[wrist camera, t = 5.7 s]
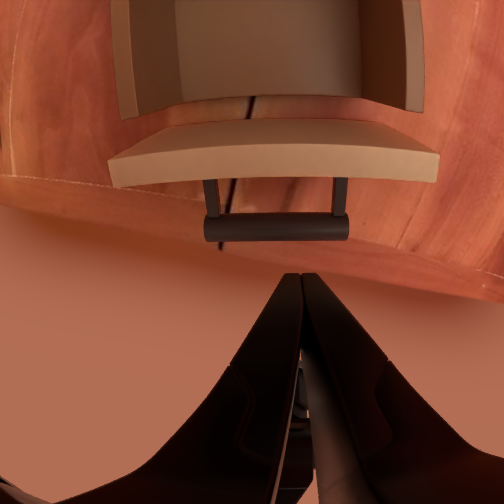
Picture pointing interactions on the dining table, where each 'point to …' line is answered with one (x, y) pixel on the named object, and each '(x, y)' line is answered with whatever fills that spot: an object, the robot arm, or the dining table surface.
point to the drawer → (270, 83)
